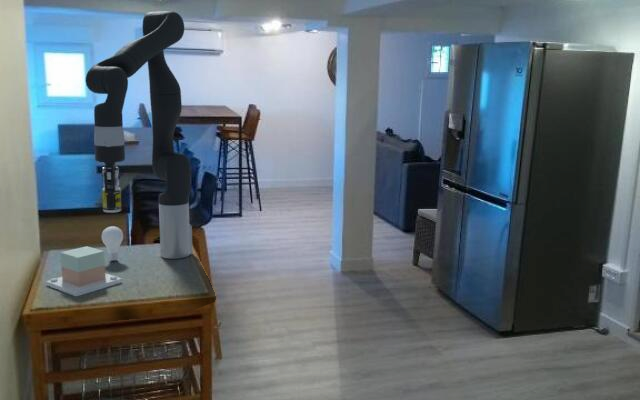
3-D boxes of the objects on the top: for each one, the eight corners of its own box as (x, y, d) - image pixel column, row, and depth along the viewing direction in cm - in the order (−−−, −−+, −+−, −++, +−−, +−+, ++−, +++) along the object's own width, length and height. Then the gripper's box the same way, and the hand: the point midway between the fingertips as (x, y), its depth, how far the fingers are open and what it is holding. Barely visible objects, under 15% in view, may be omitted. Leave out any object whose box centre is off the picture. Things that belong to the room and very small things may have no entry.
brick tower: (91, 272, 175) (90, 242, 173) (121, 282, 167) (120, 250, 165) (46, 285, 164) (43, 252, 162) (76, 296, 156) (73, 262, 154)
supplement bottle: (115, 213, 161) (114, 182, 159) (99, 212, 161) (98, 181, 160) (124, 209, 165) (123, 179, 164) (108, 208, 166) (107, 178, 165)
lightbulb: (121, 257, 191) (120, 223, 189) (126, 262, 186) (125, 227, 184) (100, 259, 188) (99, 225, 186) (105, 265, 182) (103, 229, 180)
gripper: (97, 140, 166) (99, 201, 169) (91, 146, 152) (94, 212, 155) (125, 140, 168) (127, 200, 171) (123, 145, 154) (125, 211, 157)
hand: (112, 205), depth 163 cm, fingers closed on supplement bottle, 4 cm apart
